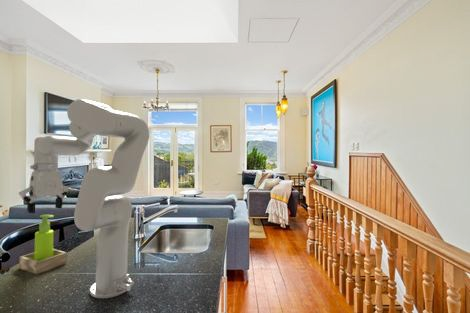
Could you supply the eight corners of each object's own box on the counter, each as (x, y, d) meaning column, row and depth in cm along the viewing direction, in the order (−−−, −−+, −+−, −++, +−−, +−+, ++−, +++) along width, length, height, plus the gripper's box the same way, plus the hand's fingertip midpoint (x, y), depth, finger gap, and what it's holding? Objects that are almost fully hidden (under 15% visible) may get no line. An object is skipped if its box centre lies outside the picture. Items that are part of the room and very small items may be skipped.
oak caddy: (66, 263, 98) (66, 252, 98) (36, 274, 88) (37, 262, 88) (49, 257, 103) (49, 247, 103) (19, 268, 93) (19, 256, 93)
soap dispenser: (44, 268, 92) (45, 217, 92) (30, 266, 94) (31, 215, 94) (58, 262, 98) (59, 213, 98) (44, 260, 99) (46, 212, 99)
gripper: (26, 169, 86) (25, 216, 86) (74, 167, 102) (73, 207, 102) (14, 168, 89) (13, 214, 89) (62, 167, 105) (62, 205, 105)
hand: (45, 210), depth 95 cm, fingers open, 9 cm apart
